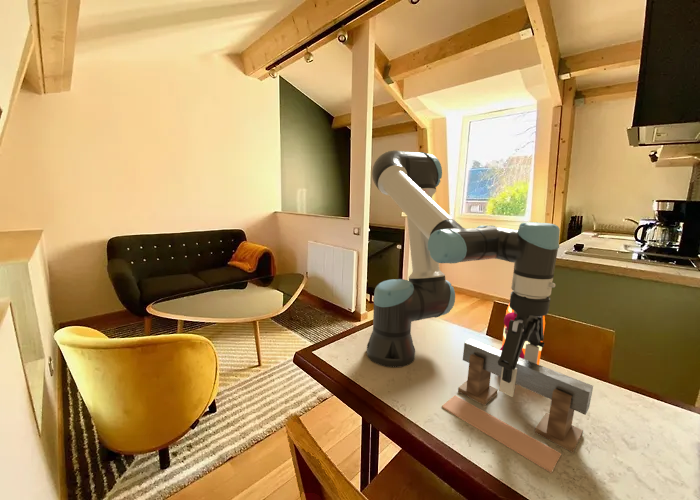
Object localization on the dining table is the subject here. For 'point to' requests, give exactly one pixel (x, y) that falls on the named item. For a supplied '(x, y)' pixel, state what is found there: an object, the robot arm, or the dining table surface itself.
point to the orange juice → (525, 341)
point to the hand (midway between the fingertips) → (518, 380)
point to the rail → (533, 376)
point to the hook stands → (552, 424)
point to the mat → (504, 433)
